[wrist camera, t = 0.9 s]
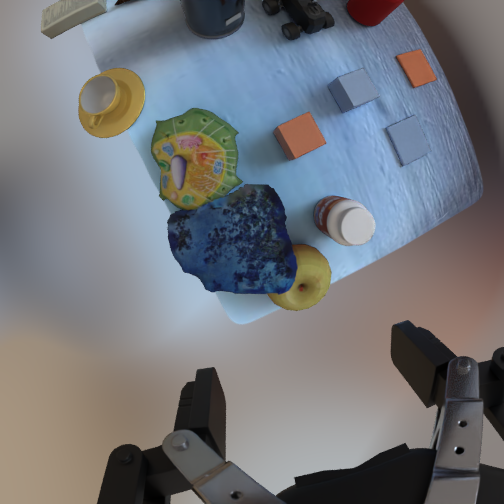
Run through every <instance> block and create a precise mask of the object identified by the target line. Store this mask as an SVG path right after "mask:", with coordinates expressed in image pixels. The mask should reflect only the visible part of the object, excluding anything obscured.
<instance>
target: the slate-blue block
mask: <svg viewBox="0 0 504 504" xmlns="http://www.w3.org/2000/svg"><path fill="white" fill-rule="evenodd" d="M328 88H329V90H330V91H331V93H332V95H333V97H334V98H335V100H336V102H337V104H338V105H339V107H340V109H341V111H342V113H345V112H347V111H350V110H352V109H354V108H357V107H359V106H361V105H364V104H366V103H368V102H370V101H372V100H374V99H376V98H378V97H380V95H379V93H378V92H377V90H376V88H375V86H374V84H373V83H372V81H371V79H370V77H369V76H368V74H367V72H366V70H365V69H364V68H361V69H359V70H356V71H353V72H350V73H347V74H345V75H342V76H339V77H337V78H336V79H335V80H334V81H333V82H332V83H331V84H330V85H329V86H328Z"/></svg>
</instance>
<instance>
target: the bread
mask: <svg viewBox="0 0 504 504" xmlns="http://www.w3.org/2000/svg"><path fill="white" fill-rule="evenodd" d="M127 1H130V0H118V1H117V2H116V4H115V5H119V4H122V3H124V2H127Z"/></svg>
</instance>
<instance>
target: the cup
mask: <svg viewBox="0 0 504 504" xmlns="http://www.w3.org/2000/svg"><path fill="white" fill-rule="evenodd" d="M144 99H145V90H144V86H143V83H142V81H141V79H140V78H139V76H138V75H137V74H135V73H134V72H133V71H131V70H128V69H124V68H114V69H110V70H107V71H104V72H102V73H101V74H99V75H96V76H94V77H92V78H91V79H89V80H88V81H87V82H86V83H85V84H84V86H83V87H82V89H81V92H80V95H79V119H80V122H81V124H82V126H83V128H84V129H85V130H86V131H87V132H88V133H89V134H91V135H93V136H95V137H99V138H109V137H113V136H116V135H119V134H121V133H122V132H124V131H125V130H127V129H128V128H129V127H130V126H131V125H132V124H133V123H134V122H135V121H136V119H137V118H138V116H139V114H140V112H141V110H142V108H143V104H144Z"/></svg>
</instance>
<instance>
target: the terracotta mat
mask: <svg viewBox="0 0 504 504" xmlns="http://www.w3.org/2000/svg"><path fill="white" fill-rule="evenodd" d="M396 58H397V60H398V61H399V63H400V65H401V67H402V68H403V70H404V72H405V74H406V75H407V77H408V79H409V81H410V83H411V85H412V87H413V88H415V87H418V86H421V85H423V84H426V83H429V82H432V81H435V80H437V78H436V76H435V74H434V73H433V71H432V69H431V67H430V65H429V63H428V62H427V60H426V58H425V56H424V54H423V53H422V51H421V49H419V50H416V51H412V52H408V53H405V54H401V55H398V56H396Z"/></svg>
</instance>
